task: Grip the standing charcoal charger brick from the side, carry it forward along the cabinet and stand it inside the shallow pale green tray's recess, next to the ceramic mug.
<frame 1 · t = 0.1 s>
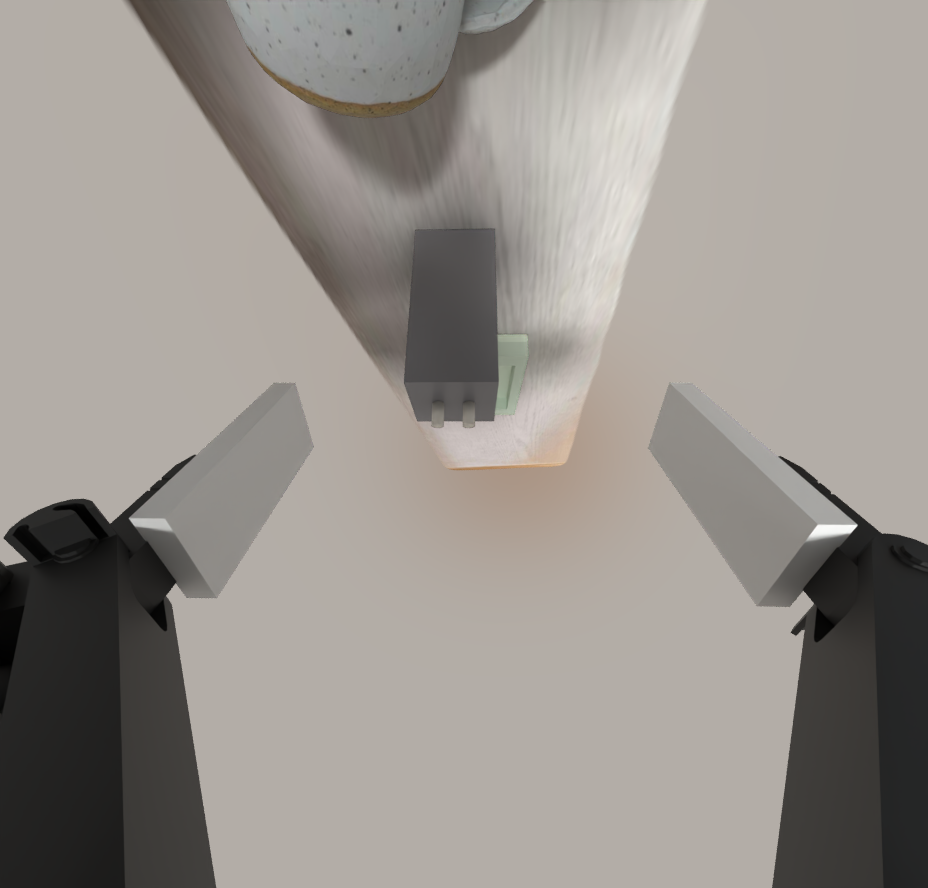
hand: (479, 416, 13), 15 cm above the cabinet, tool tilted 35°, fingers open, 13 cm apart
shallow pale green tray: (471, 370, 39), on the cabinet
charger brick: (456, 261, 26), on the cabinet
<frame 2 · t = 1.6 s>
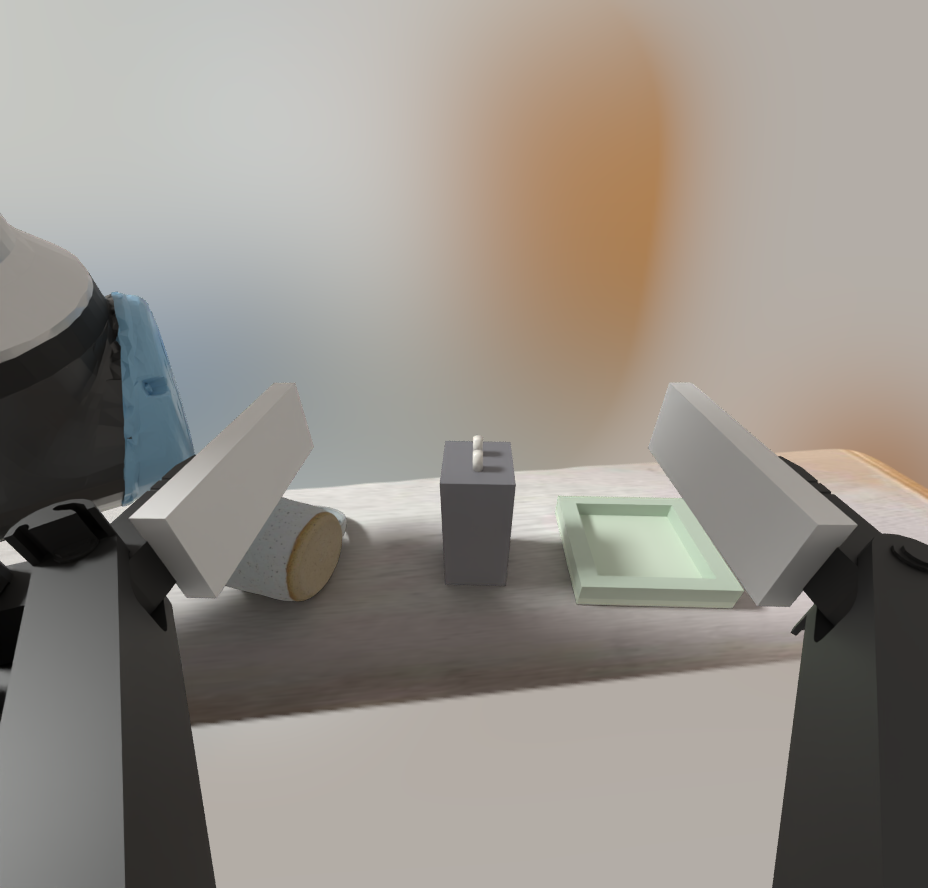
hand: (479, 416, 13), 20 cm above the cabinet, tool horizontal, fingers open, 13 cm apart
ceramic mug: (297, 562, 33), on the cabinet
shallow pale green tray: (631, 554, 33), on the cabinet
charger brick: (475, 560, 33), on the cabinet
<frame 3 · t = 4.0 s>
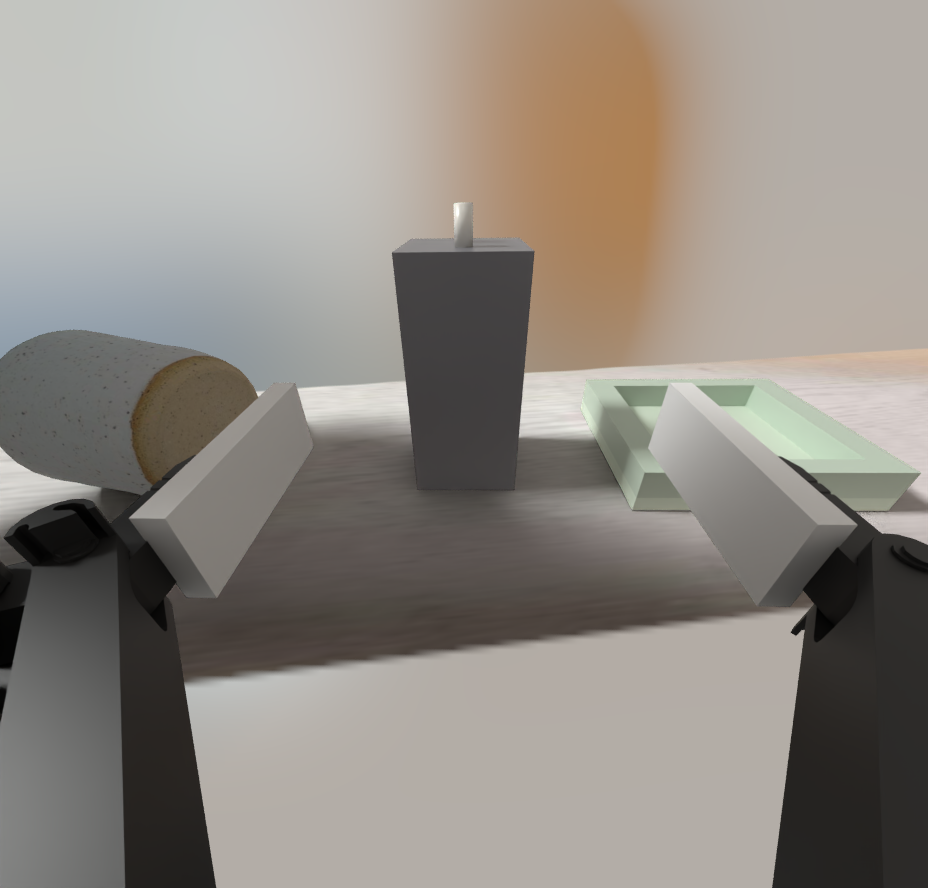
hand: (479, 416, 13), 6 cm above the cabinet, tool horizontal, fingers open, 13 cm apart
ceramic mug: (199, 463, 22), on the cabinet
shallow pale green tray: (704, 450, 22), on the cabinet
charger brick: (466, 461, 21), on the cabinet
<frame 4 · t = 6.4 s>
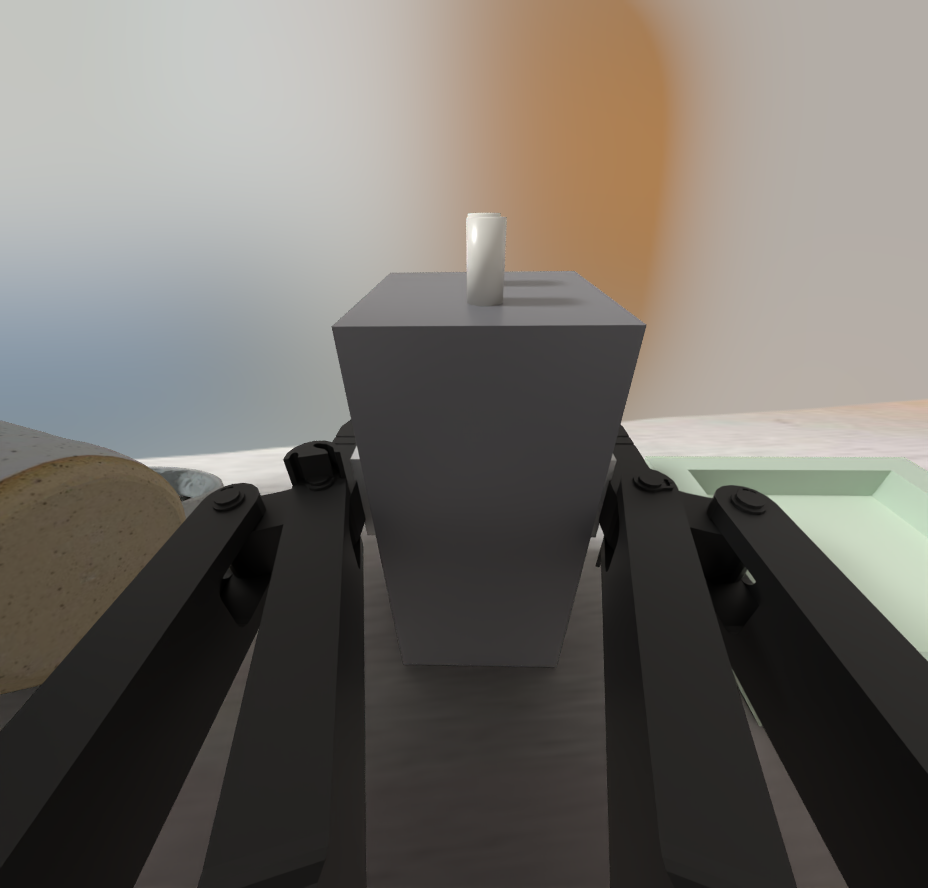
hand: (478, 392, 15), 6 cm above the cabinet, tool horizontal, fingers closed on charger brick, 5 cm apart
ceramic mug: (102, 579, 15), on the cabinet
shallow pale green tray: (832, 578, 15), on the cabinet
charger brick: (478, 596, 14), on the cabinet, touching gripper
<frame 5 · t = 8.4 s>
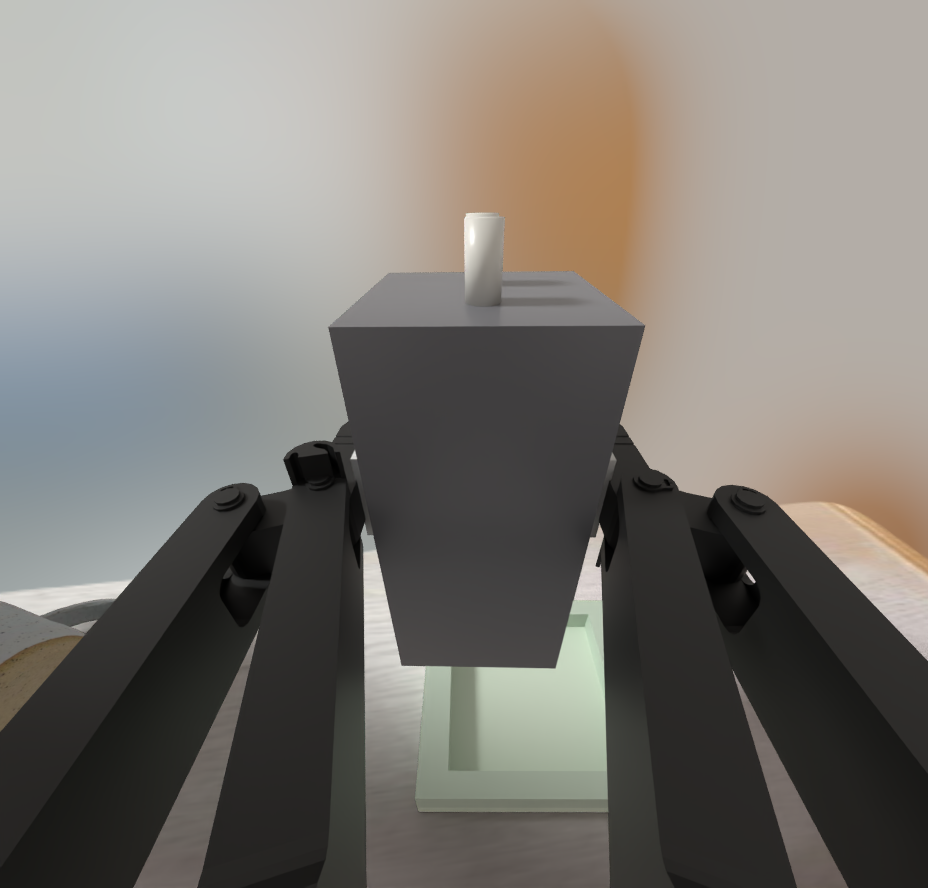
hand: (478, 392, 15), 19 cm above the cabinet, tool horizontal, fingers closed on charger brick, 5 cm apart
ceramic mug: (51, 693, 23), on the cabinet
shallow pale green tray: (525, 697, 22), on the cabinet
charger brick: (477, 597, 14), point 13 cm above the cabinet, touching gripper
when the fingers open (8 cm above the cabinet, at t = 10.8 s): charger brick drops 1 cm, resting on shallow pale green tray.
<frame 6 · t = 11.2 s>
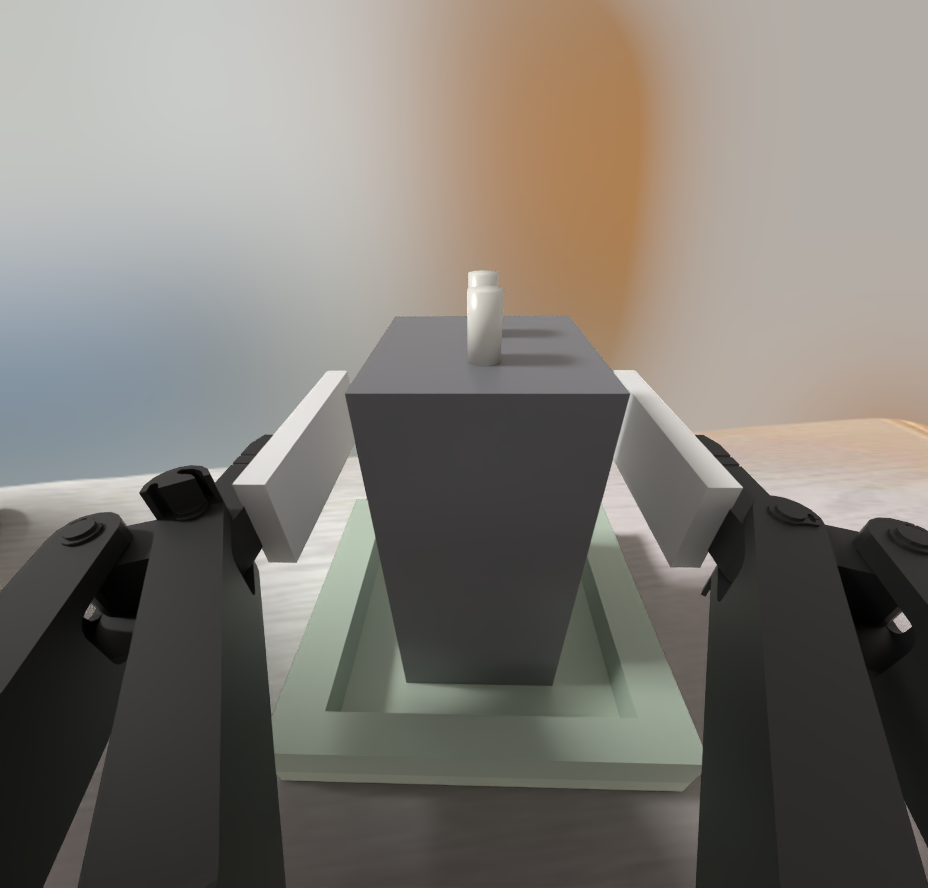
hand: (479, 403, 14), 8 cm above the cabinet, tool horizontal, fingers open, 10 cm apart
shallow pale green tray: (477, 624, 15), on the cabinet
charger brick: (478, 615, 15), point 1 cm above the cabinet, touching shallow pale green tray
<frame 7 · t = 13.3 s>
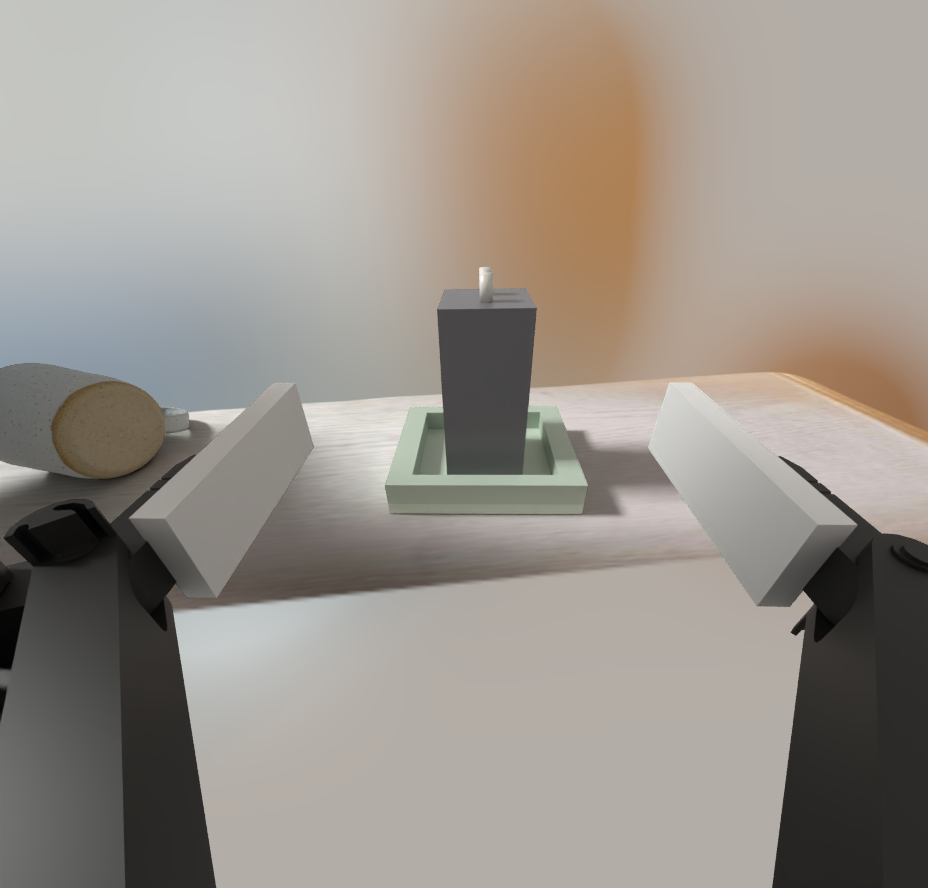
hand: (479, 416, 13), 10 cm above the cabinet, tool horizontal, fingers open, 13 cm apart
ceramic mug: (123, 456, 30), on the cabinet
shallow pale green tray: (483, 465, 27), on the cabinet
charger brick: (483, 457, 27), point 1 cm above the cabinet, touching shallow pale green tray
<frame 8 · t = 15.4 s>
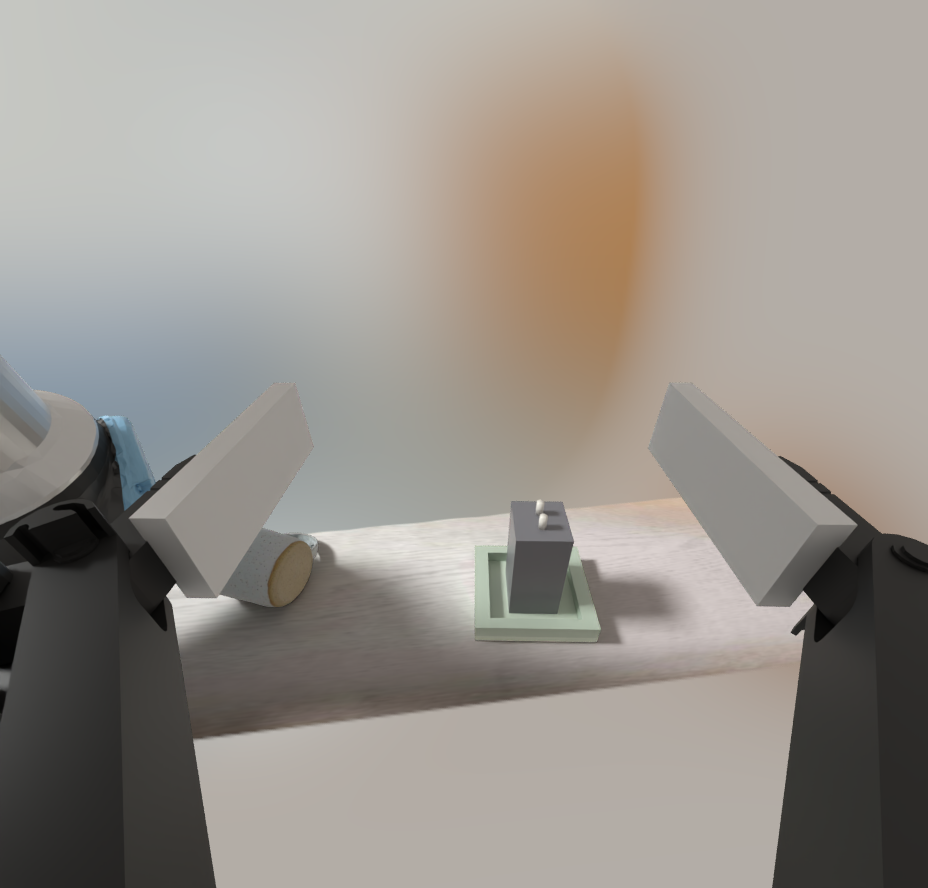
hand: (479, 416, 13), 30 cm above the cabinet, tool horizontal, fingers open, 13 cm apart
ceramic mug: (279, 577, 43), on the cabinet
shallow pale green tray: (529, 595, 41), on the cabinet
charger brick: (530, 592, 40), point 1 cm above the cabinet, touching shallow pale green tray
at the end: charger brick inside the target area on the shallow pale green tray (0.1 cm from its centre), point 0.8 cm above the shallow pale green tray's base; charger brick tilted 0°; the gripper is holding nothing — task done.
